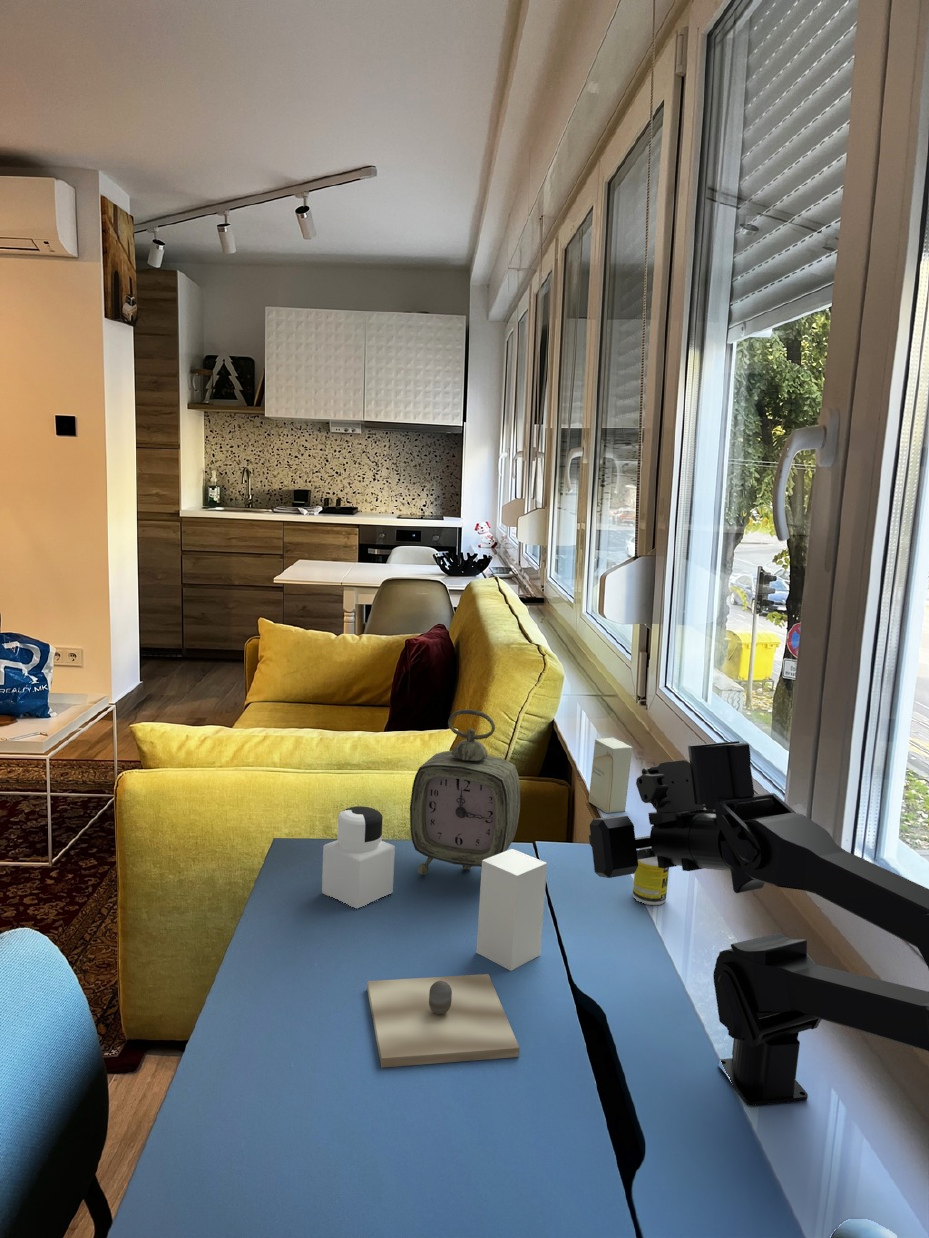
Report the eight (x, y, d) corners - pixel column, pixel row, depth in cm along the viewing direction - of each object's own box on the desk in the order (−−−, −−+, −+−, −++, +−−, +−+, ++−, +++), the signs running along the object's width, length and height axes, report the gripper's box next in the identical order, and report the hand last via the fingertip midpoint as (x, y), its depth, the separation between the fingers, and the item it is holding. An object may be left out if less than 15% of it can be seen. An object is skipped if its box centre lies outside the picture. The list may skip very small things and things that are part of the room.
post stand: (519, 1056, 93) (521, 1015, 92) (381, 1067, 90) (383, 1025, 89) (487, 981, 107) (490, 945, 106) (367, 989, 104) (368, 952, 103)
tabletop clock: (406, 877, 133) (414, 710, 129) (427, 854, 142) (435, 696, 138) (502, 896, 129) (514, 723, 125) (518, 871, 137) (529, 708, 134)
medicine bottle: (357, 878, 132) (361, 798, 130) (393, 894, 128) (397, 811, 126) (320, 893, 127) (323, 810, 125) (356, 911, 122) (360, 825, 120)
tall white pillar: (540, 954, 113) (547, 862, 112) (510, 970, 109) (517, 875, 107) (506, 937, 117) (512, 848, 115) (476, 952, 113) (482, 860, 111)
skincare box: (587, 802, 169) (592, 738, 167) (608, 799, 171) (613, 736, 169) (606, 814, 163) (612, 748, 162) (627, 811, 165) (633, 746, 163)
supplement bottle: (666, 908, 128) (671, 851, 127) (631, 903, 129) (636, 846, 128) (665, 893, 133) (670, 838, 131) (632, 888, 134) (637, 833, 132)
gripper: (764, 756, 102) (674, 760, 116) (628, 772, 94) (549, 775, 108) (778, 858, 101) (685, 850, 115) (641, 884, 92) (559, 872, 106)
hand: (622, 834), depth 111 cm, fingers open, 9 cm apart
